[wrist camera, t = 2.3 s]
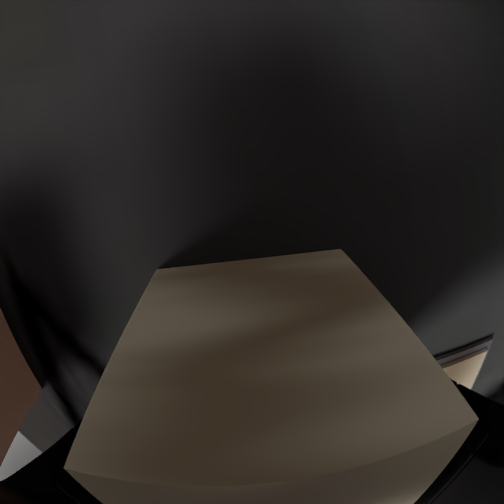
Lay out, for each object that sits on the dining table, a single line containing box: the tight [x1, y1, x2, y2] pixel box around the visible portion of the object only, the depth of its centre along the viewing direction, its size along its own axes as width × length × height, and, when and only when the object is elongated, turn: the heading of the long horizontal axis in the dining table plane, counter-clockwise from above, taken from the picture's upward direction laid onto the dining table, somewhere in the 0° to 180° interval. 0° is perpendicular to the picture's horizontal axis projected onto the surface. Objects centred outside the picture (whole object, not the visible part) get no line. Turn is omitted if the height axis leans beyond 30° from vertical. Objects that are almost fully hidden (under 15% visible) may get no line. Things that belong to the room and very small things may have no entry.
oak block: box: [64, 249, 479, 504], centre depth 6 cm, size 5×5×6 cm
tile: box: [435, 337, 493, 390], centre depth 11 cm, size 7×7×1 cm
